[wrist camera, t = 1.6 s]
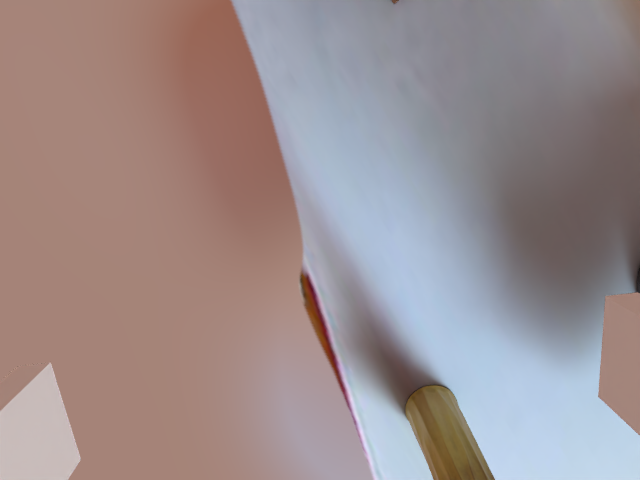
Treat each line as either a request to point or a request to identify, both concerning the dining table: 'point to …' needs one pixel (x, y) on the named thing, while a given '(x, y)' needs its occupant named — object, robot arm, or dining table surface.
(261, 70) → the dining table surface
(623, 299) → the robot arm
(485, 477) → the vase
